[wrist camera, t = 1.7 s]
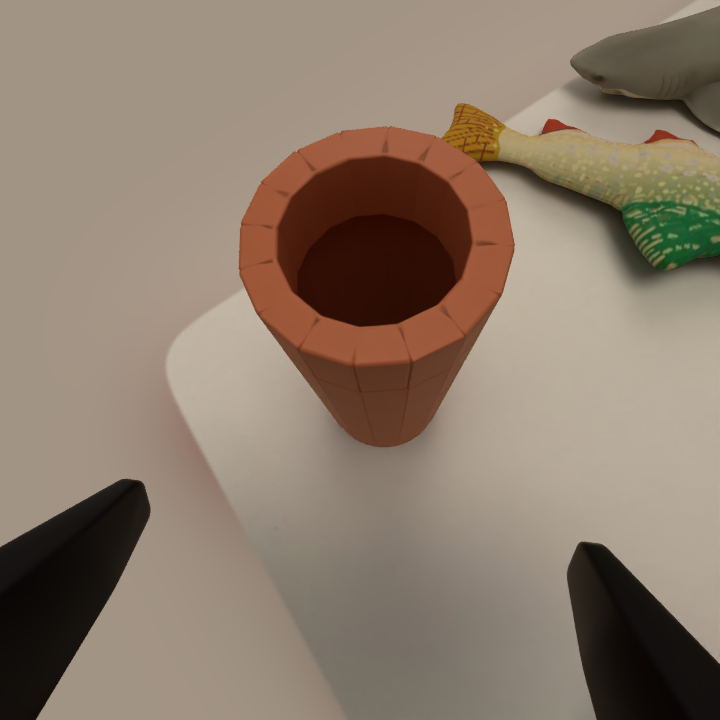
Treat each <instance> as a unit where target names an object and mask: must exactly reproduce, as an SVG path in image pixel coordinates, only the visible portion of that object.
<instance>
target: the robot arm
mask: <svg viewBox="0 0 720 720" xmlns="http://www.w3.org/2000/svg"><path fill="white" fill-rule="evenodd" d="M149 516H150V504H149V500H148V496H147V493H146V489H145V486H144V484H143V483H142V482H141V481H139V480H131V479H122V480H119V481H117V482H115V483H114V484H112V485H111V486H108V487H107V488H105V489H103V490H101V491H99V492H98V493H96V494H94V495H92V496H91V497H89V498H87V499H85V500H83V501H82V502H80V503H78V504H76V505H75V506H73V507H71V508H69V509H67V510H66V511H64V512H62V513H60V514H58V515H57V516H55V517H53V518H51V519H49V520H48V521H46V522H44V523H43V524H41V525H39V526H37V527H35V528H33V529H32V530H30V531H28V532H26V533H24V534H23V535H21V536H19V537H17V538H16V539H14V540H12V541H10V542H8V543H7V544H5V545H3V546H1V547H0V720H36V718H37V717H38V715H39V714H40V712H41V710H42V709H43V707H44V705H45V704H46V702H47V700H48V699H49V697H50V695H51V693H52V692H53V690H54V689H55V687H56V685H57V684H58V682H59V680H60V679H61V677H62V675H63V673H64V672H65V670H66V668H67V667H68V665H69V664H70V662H71V660H72V659H73V657H74V656H75V654H76V652H77V651H78V649H79V647H80V646H81V644H82V642H83V640H84V639H85V637H86V636H87V634H88V632H89V631H90V629H91V627H92V626H93V624H94V622H95V621H96V619H97V617H98V616H99V614H100V612H101V611H102V609H103V608H104V606H105V604H106V603H107V601H108V599H109V597H110V596H111V594H112V592H113V590H114V589H115V587H116V585H117V583H118V581H119V579H120V577H121V575H122V573H123V571H124V569H125V567H126V565H127V563H128V561H129V559H130V557H131V554H132V552H133V550H134V548H135V546H136V544H137V542H138V540H139V538H140V536H141V534H142V532H143V530H144V528H145V526H146V523H147V521H148V519H149ZM567 581H568V587H569V593H570V599H571V605H572V611H573V616H574V622H575V628H576V634H577V639H578V645H579V651H580V656H581V661H582V666H583V670H584V674H585V678H586V682H587V686H588V689H589V693H590V697H591V700H592V704H593V707H594V711H595V715H596V718H597V720H720V664H719V663H718V662H717V661H716V660H715V659H714V658H713V657H712V656H711V655H710V654H709V652H708V651H707V650H706V649H705V648H704V647H703V646H702V645H701V644H700V643H699V642H698V641H697V640H696V639H695V638H694V637H693V636H692V635H691V634H690V633H689V632H688V631H687V630H686V629H685V628H684V627H683V626H682V625H681V624H680V623H679V622H678V621H677V619H676V618H675V617H674V616H673V615H672V614H671V613H670V612H669V611H668V610H667V609H666V608H665V607H664V606H663V605H662V604H661V603H660V602H659V601H658V600H657V599H656V598H655V597H654V596H653V595H652V594H651V593H650V592H649V591H648V590H647V589H646V587H645V586H644V585H643V584H642V583H641V582H640V581H639V580H638V579H637V578H636V577H635V576H634V575H633V574H632V573H631V572H630V571H629V570H628V569H627V568H626V567H625V566H624V565H623V564H622V563H621V562H620V561H619V560H618V559H617V558H616V557H615V556H614V554H613V553H612V552H611V551H610V550H609V549H608V548H607V547H605V546H604V545H602V544H598V543H591V542H580V543H579V544H578V545H577V547H576V550H575V552H574V555H573V557H572V559H571V562H570V564H569V566H568V570H567Z"/></svg>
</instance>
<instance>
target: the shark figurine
mask: <svg viewBox="0 0 720 720" xmlns="http://www.w3.org/2000/svg"><path fill="white" fill-rule="evenodd" d="M570 63H571V66H572V67H573V68H574V69H575V70H576V71H577V72H578V73H579V74H580V75H581V76H582V77H583V78H584V79H586V80H588V81H589V82H591V83H593V84H595V85H597V86H599V87H601V91H603V92H604V93H608V94H622V95H626V96H628V97H633V98H648V99H663V100H669V99H680V100H682V101H684V102H685V104H686V105H687V106H688V108H689V109H690V110H691V112H692V113H693V114H694V115H695V116H696V117H697V118H698V119H699V120H701V121H702V122H703V123H704V124H705V125H707V126H709V127H710V128H712V129H713V130H716V131H718V132H720V6H718V7H715V8H712V9H710V10H707V11H704V12H701V13H698V14H694V15H691V16H688V17H685V18H682V19H678V20H675V21H671V22H668V23H664V24H661V25H657V26H653V27H649V28H645V29H640V30H635V31H630V32H626V33H620V34H616V35H613V36H610V37H607V38H605V39H603V40H601V41H599V42H597V43H596V44H594V45H592V46H589V47H587V48H585V49H583V50H582V51H580V52H579V53H577V54H576V55H574V56H573V57H572V59H571V60H570Z"/></svg>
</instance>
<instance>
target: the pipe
mask: <svg viewBox="0 0 720 720" xmlns="http://www.w3.org/2000/svg"><path fill="white" fill-rule="evenodd" d="M514 246H515V244H514V239H513V234H512V229H511V223H510V218H509V213H508V208H507V203H506V201H505V198H504V196H503V195H502V194H501V192H500V191H499V189H498V188H497V187H496V185H495V184H494V183H493V181H492V180H491V179H490V177H489V176H488V174H487V173H486V172H485V170H484V169H483V168H482V166H481V165H480V164H479V163H478V162H477V161H476V160H475V159H473V158H471V157H470V156H468V155H467V154H465V153H463V152H462V151H460V150H458V149H457V148H455V147H453V146H452V145H450V144H449V143H447V142H445V141H444V140H442V139H440V138H439V137H437V138H436V136H434V135H429V134H424V133H419V132H415V131H410V130H406V129H401V128H396V127H389V128H388V127H377V128H367V129H358V130H347V131H342V132H341V133H336V134H333V135H331V136H329V137H327V138H324V139H322V140H320V141H317V142H315V143H313V144H310V145H308V146H306V147H304V148H301V149H299V150H298V151H297V152H293V153H292V154H291V155H290V156H289V157H288V158H287V159H285V160H284V161H283V162H282V163H281V164H280V165H279V166H278V167H277V168H276V169H275V170H274V171H272V172H271V173H270V174H269V175H268V176H267V177H266V178H265V179H264V180H262V182H261V184H260V185H259V187H258V189H257V191H256V193H255V195H254V197H253V199H252V201H251V203H250V205H249V207H248V209H247V211H246V214H245V215H244V218H243V219H242V222H241V228H240V250H239V270H240V277H241V279H242V281H243V283H244V286H245V288H246V291H247V293H248V295H249V297H250V300H251V302H252V304H253V306H254V309H255V311H256V313H257V315H258V316H259V317H260V319H261V320H262V321H263V323H264V324H265V325H266V327H267V328H268V329H269V331H270V332H271V333H272V335H273V336H274V337H275V339H276V340H277V341H278V343H279V344H280V345H281V347H282V348H283V350H284V351H285V353H286V354H287V355H288V357H289V358H290V359H291V361H292V362H293V363H294V365H295V366H296V367H297V369H298V370H299V371H300V373H301V374H302V375H303V377H304V378H305V379H306V381H307V382H308V383H309V385H310V386H311V387H312V389H313V390H314V391H315V393H316V394H317V395H318V397H319V398H320V399H321V401H322V402H323V403H324V405H325V406H326V407H327V409H328V410H329V411H330V413H331V414H332V415H333V417H334V418H335V419H336V421H337V422H338V423H339V425H340V426H341V427H342V428H344V429H345V430H346V431H347V432H348V433H349V434H350V435H351V436H352V437H354V438H355V439H357V440H359V441H360V442H363V443H365V444H368V445H372V446H378V447H390V446H396V445H400V444H403V443H405V442H408V441H409V440H411V439H413V438H414V437H416V436H417V435H418V434H420V433H421V432H422V431H423V429H424V428H425V427H426V426H427V424H428V423H429V422H430V421H431V420H432V418H433V416H434V415H435V413H436V411H437V409H438V407H439V406H440V404H441V402H442V400H443V399H444V397H445V395H446V393H447V391H448V390H449V388H450V386H451V384H452V383H453V381H454V379H455V377H456V375H457V374H458V372H459V370H460V368H461V367H462V365H463V363H464V361H465V360H466V358H467V356H468V354H469V352H470V351H471V349H472V347H473V345H474V344H475V342H476V340H477V338H478V336H479V335H480V332H481V331H482V329H483V327H484V325H485V324H486V322H487V320H488V318H489V317H490V315H491V313H492V311H493V309H494V308H495V306H496V304H497V302H498V301H499V299H500V297H501V295H502V293H503V290H504V286H505V283H506V279H507V275H508V272H509V268H510V264H511V261H512V257H513V254H514Z"/></svg>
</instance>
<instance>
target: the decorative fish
mask: <svg viewBox="0 0 720 720" xmlns="http://www.w3.org/2000/svg"><path fill="white" fill-rule="evenodd" d="M442 140H444V141H445V142H447V143H449V144H450V145H452V146H453V147H455V148H457V149H458V150H460V151H462V152H463V153H465V154H467V155H468V156H470V157H471V158H473V159H475V160H476V161H477V162H480V161H496V160H497V161H504V162H510V163H515V164H519V165H522V166H524V167H527V168H529V169H531V170H532V171H534V172H535V173H536V174H537V175H538V176H539V177H541V178H543V179H545V180H546V181H549V182H552V183H555V184H558V185H561V186H563V187H566V188H568V189H571V190H574V191H576V192H579V193H581V194H584V195H586V196H589V197H591V198H594V199H597V200H599V201H602V202H605V203H607V204H610V205H611V206H613V207H614V208H616V209H617V210H619V211H621V214H622V216H623V222H624V224H625V226H626V229H627V231H628V233H629V234H630V236H631V237H632V239H633V241H634V243H635V245H636V247H637V249H638V250H639V251H640V252H641V253H642V254H643V256H644V257H645V258H646V259H647V261H648V262H649V263H650V264H651V265H652V266H654V267H655V268H657V269H659V270H671V269H675V268H678V267H680V266H682V265H685V264H686V263H688V262H689V261H691V260H693V259H695V258H704V257H713V256H718V255H720V158H718V157H716V156H714V155H712V154H711V153H709V152H707V151H705V150H703V149H701V148H700V147H699V146H698V145H697V144H696V143H695V142H694V141H692V140H686V139H680V138H678V137H676V136H674V135H672V134H670V133H668V132H666V131H663V130H656V131H655V133H654V135H653V136H652V137H651V138H650V139H649V140H647V141H646V142H644V143H645V144H638V145H629V144H621V143H615V142H610V141H606V140H602V139H599V138H596V137H593V136H591V135H590V134H588V133H586V132H584V131H582V130H580V129H577V128H575V127H570V126H566V125H565V124H563V123H561V122H560V121H558V120H555V119H548V121H546V124H545V126H544V128H543V131H542V134H541V135H539V136H526V135H523V134H520V133H518V132H516V131H514V130H511V129H510V128H508V127H507V126H505V125H504V124H502V123H501V122H499V121H498V120H497V119H495V118H494V117H492V116H490V115H488V114H487V113H485V112H483V111H482V110H480V109H478V108H476V107H474V106H471V105H468V104H462V103H461V104H458V105H457V106H456V108H455V112H454V119H453V122H452V125H451V127H450V129H449V130H448V131H447V133H446V134H445V135H444V136H443V137H442Z"/></svg>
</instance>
